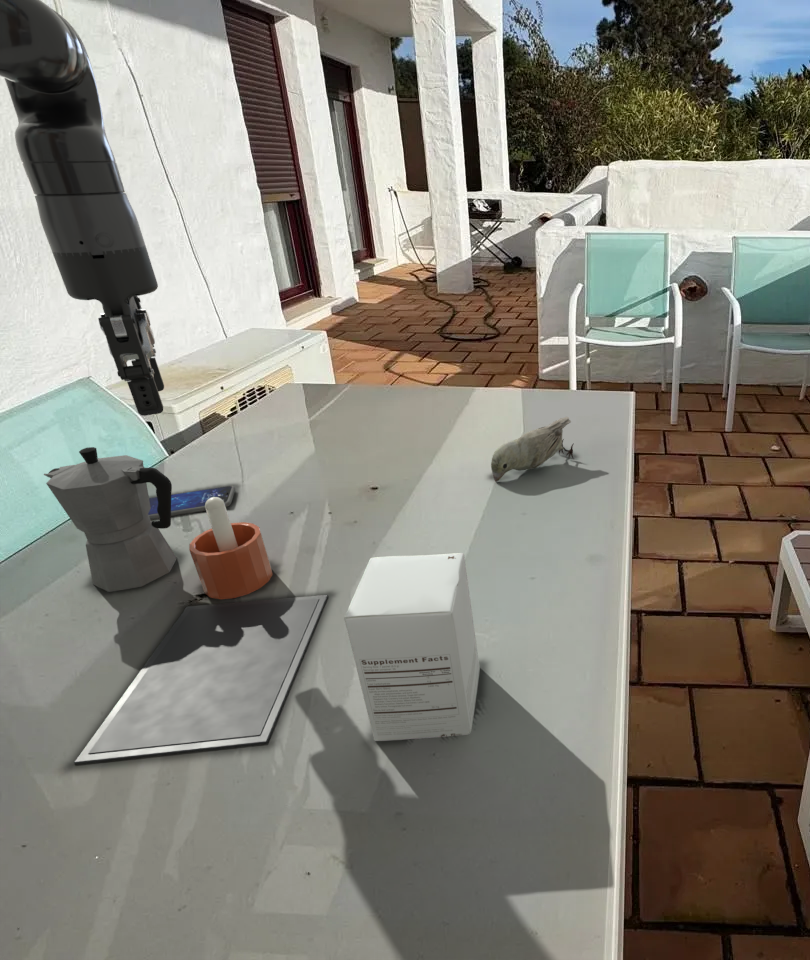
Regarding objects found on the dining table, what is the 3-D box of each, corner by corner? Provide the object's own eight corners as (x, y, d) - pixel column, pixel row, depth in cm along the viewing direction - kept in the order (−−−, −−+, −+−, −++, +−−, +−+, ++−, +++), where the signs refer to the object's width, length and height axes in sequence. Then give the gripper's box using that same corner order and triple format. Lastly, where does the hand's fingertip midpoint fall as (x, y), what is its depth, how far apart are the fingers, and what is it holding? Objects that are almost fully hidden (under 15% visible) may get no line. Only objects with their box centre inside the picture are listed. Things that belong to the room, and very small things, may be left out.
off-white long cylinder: (228, 587, 79) (199, 502, 73) (234, 578, 80) (207, 494, 75) (244, 586, 79) (218, 501, 74) (250, 576, 81) (224, 493, 75)
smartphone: (128, 500, 99) (235, 483, 103) (130, 505, 99) (236, 489, 104) (114, 521, 92) (228, 503, 97) (116, 527, 93) (230, 508, 98)
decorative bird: (485, 477, 107) (481, 436, 104) (560, 451, 117) (558, 413, 113) (503, 487, 103) (499, 445, 100) (578, 460, 113) (578, 421, 110)
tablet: (77, 770, 55) (72, 761, 55) (189, 613, 75) (186, 605, 75) (269, 749, 57) (266, 740, 57) (329, 601, 77) (327, 593, 76)
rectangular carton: (394, 676, 65) (368, 554, 59) (481, 671, 66) (466, 549, 59) (372, 748, 57) (339, 616, 51) (472, 742, 58) (453, 610, 51)
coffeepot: (60, 595, 78) (-3, 463, 70) (118, 553, 87) (68, 431, 79) (177, 601, 77) (126, 467, 69) (225, 558, 86) (184, 434, 78)
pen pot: (195, 606, 76) (177, 557, 73) (220, 570, 83) (205, 524, 80) (261, 601, 77) (247, 552, 74) (281, 566, 84) (268, 520, 81)
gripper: (61, 241, 66) (116, 390, 73) (38, 255, 55) (106, 429, 62) (146, 236, 69) (191, 379, 76) (141, 248, 58) (194, 414, 65)
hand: (153, 401), depth 69 cm, fingers open, 8 cm apart
